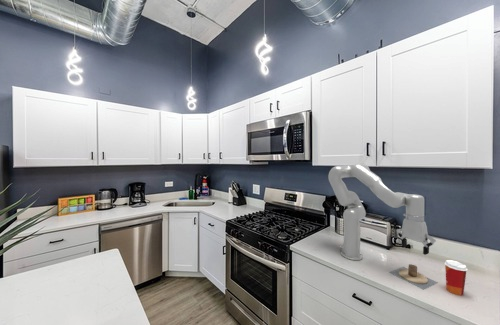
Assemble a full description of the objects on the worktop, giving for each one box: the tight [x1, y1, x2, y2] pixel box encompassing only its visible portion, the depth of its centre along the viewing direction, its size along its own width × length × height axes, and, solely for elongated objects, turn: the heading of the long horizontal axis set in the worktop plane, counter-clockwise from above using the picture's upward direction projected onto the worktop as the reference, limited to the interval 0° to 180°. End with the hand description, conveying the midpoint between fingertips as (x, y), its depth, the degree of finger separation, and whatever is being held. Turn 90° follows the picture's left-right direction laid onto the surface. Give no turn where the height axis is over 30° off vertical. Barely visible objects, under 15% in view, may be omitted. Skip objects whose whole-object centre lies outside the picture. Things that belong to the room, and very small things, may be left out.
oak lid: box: [399, 263, 428, 284], centre depth 106 cm, size 12×12×6 cm
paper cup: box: [443, 259, 468, 296], centre depth 95 cm, size 8×8×14 cm
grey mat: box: [388, 266, 439, 290], centre depth 106 cm, size 16×14×1 cm
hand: (414, 250), depth 105 cm, fingers open, 9 cm apart
